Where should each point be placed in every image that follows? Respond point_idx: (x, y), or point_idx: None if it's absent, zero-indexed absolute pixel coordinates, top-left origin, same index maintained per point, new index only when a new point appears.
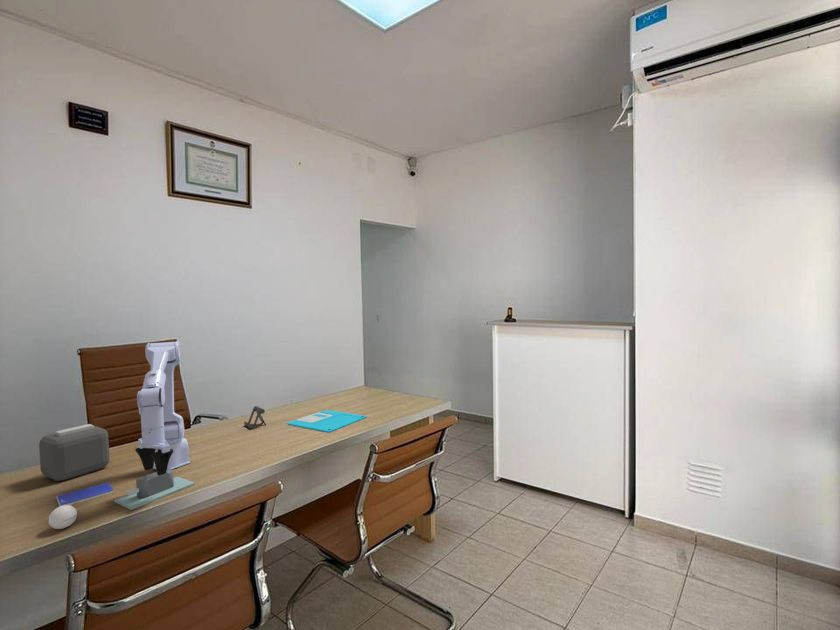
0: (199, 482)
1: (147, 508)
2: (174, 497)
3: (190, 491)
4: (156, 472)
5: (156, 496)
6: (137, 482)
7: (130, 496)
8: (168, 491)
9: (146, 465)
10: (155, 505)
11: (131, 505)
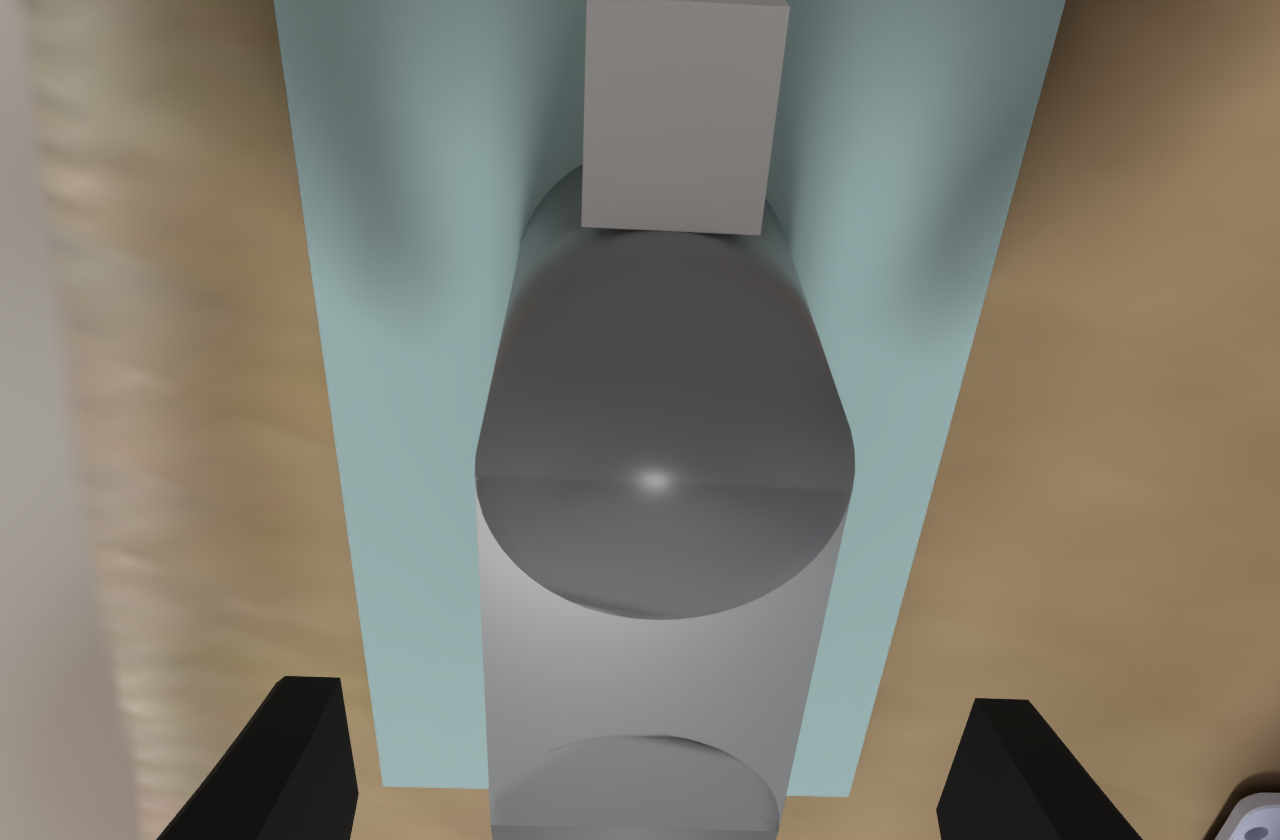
0: (411, 808)
1: (63, 15)
2: (173, 462)
3: (199, 647)
4: (759, 743)
5: (386, 339)
6: (650, 301)
7: (894, 117)
8: (417, 518)
9: (1014, 834)
10: (87, 162)
11: None
